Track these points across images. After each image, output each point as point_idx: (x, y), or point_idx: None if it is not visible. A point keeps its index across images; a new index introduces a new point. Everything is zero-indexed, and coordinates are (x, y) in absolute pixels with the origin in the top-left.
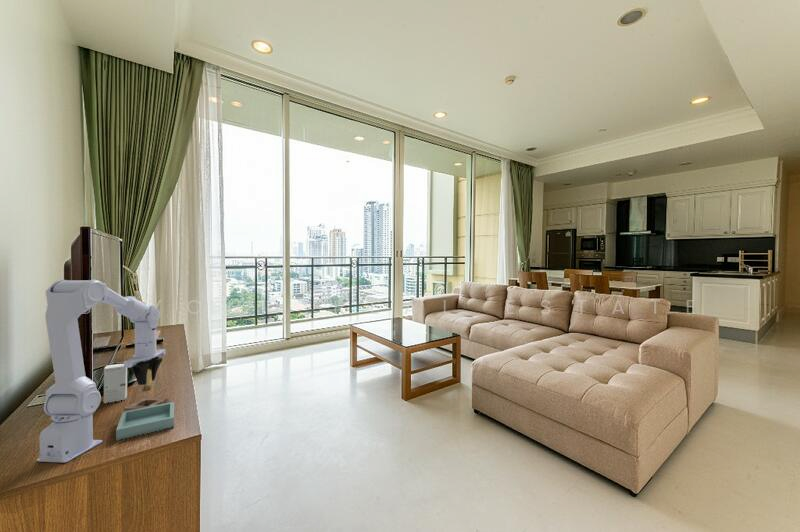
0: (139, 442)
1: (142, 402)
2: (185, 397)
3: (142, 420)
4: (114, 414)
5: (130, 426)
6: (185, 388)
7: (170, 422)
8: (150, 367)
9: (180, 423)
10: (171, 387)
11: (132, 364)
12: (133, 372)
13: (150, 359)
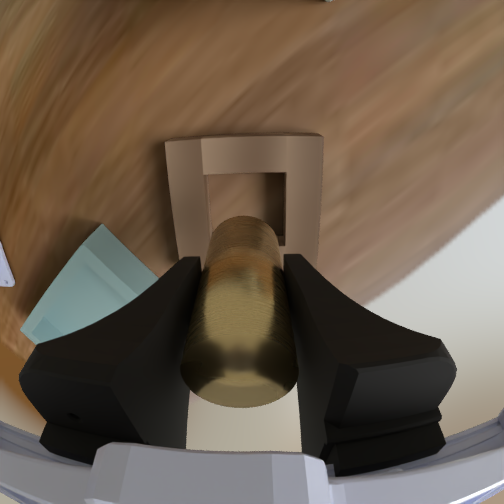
0: None
1: (257, 172)
2: (365, 292)
3: (119, 304)
4: (148, 109)
5: None
6: (466, 219)
7: None
8: (297, 379)
9: None
10: (484, 141)
11: (21, 453)
12: (108, 319)
13: (330, 460)
